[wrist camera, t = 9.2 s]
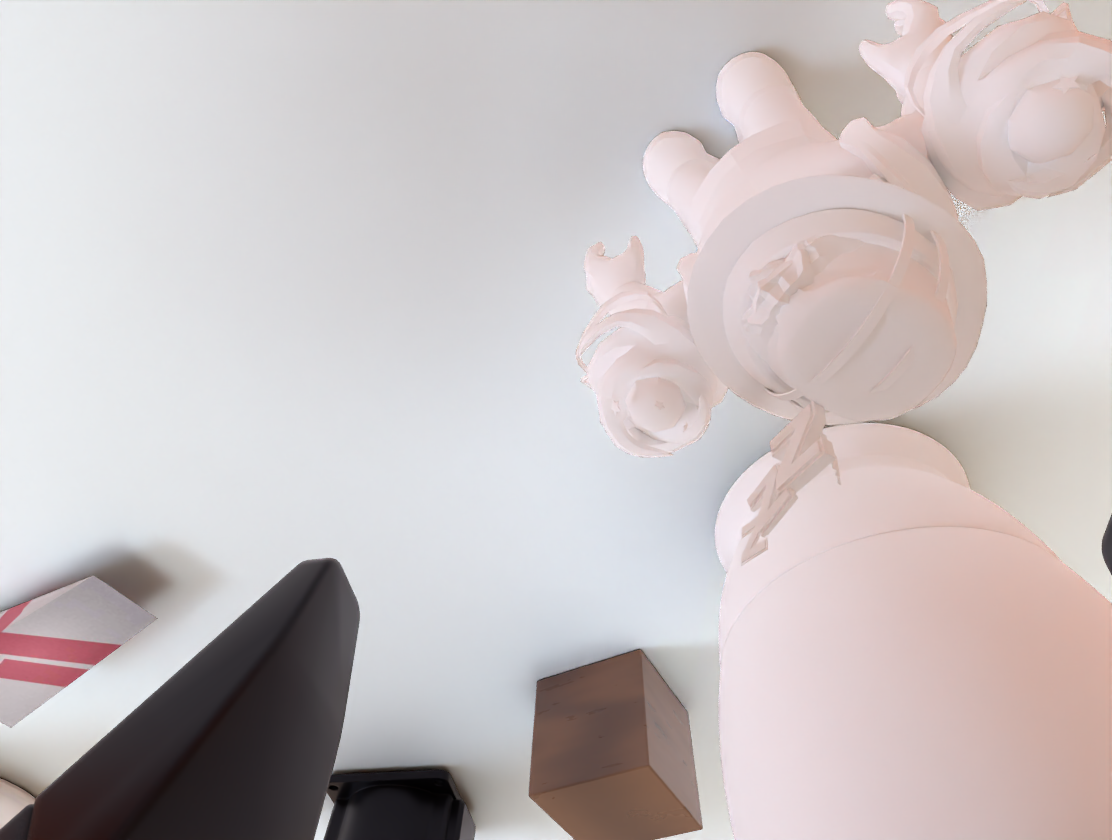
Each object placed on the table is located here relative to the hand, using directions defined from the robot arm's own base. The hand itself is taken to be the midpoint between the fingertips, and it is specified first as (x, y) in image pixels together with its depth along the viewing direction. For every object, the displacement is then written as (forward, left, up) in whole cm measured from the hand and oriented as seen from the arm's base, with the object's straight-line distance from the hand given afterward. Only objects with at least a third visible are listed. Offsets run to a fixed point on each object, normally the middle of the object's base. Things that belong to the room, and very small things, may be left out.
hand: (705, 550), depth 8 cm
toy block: (-3, -21, -13) cm, 25 cm away
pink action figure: (+2, +2, -13) cm, 13 cm away
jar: (+6, -12, -13) cm, 18 cm away
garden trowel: (-29, -15, -13) cm, 35 cm away
